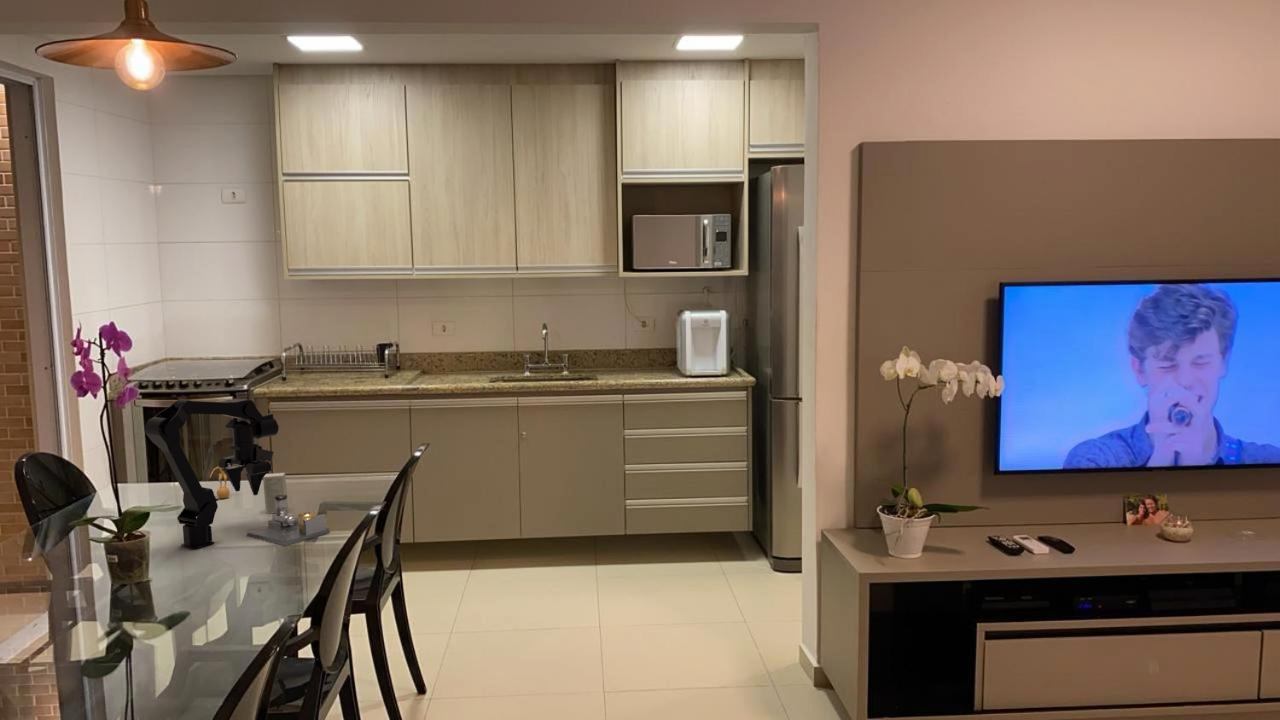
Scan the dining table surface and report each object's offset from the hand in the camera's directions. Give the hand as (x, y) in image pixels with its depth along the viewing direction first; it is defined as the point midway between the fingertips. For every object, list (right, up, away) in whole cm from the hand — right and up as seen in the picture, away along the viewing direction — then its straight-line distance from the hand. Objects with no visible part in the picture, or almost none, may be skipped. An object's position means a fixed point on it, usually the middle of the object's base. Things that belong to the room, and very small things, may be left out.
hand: (246, 493), depth 278 cm
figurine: (-25, -8, +41) cm, 49 cm away
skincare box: (+1, -9, +22) cm, 24 cm away
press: (+14, -12, -4) cm, 19 cm away
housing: (+20, -10, -5) cm, 23 cm away
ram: (+11, -9, +1) cm, 15 cm away
